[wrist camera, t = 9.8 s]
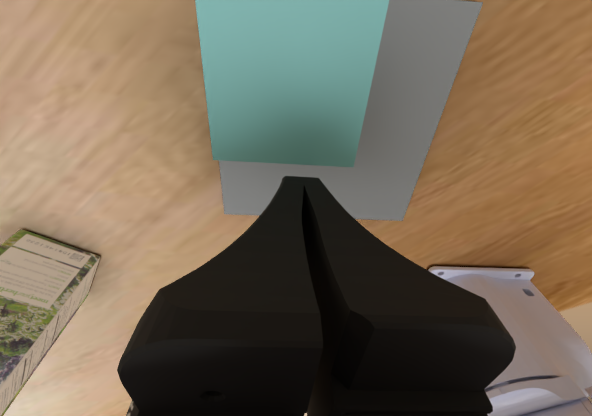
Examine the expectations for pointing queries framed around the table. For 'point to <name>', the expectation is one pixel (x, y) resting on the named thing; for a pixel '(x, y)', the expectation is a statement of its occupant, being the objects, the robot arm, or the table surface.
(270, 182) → the mat
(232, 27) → the mint green cube
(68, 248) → the syrup box
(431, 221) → the table surface
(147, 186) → the table surface
